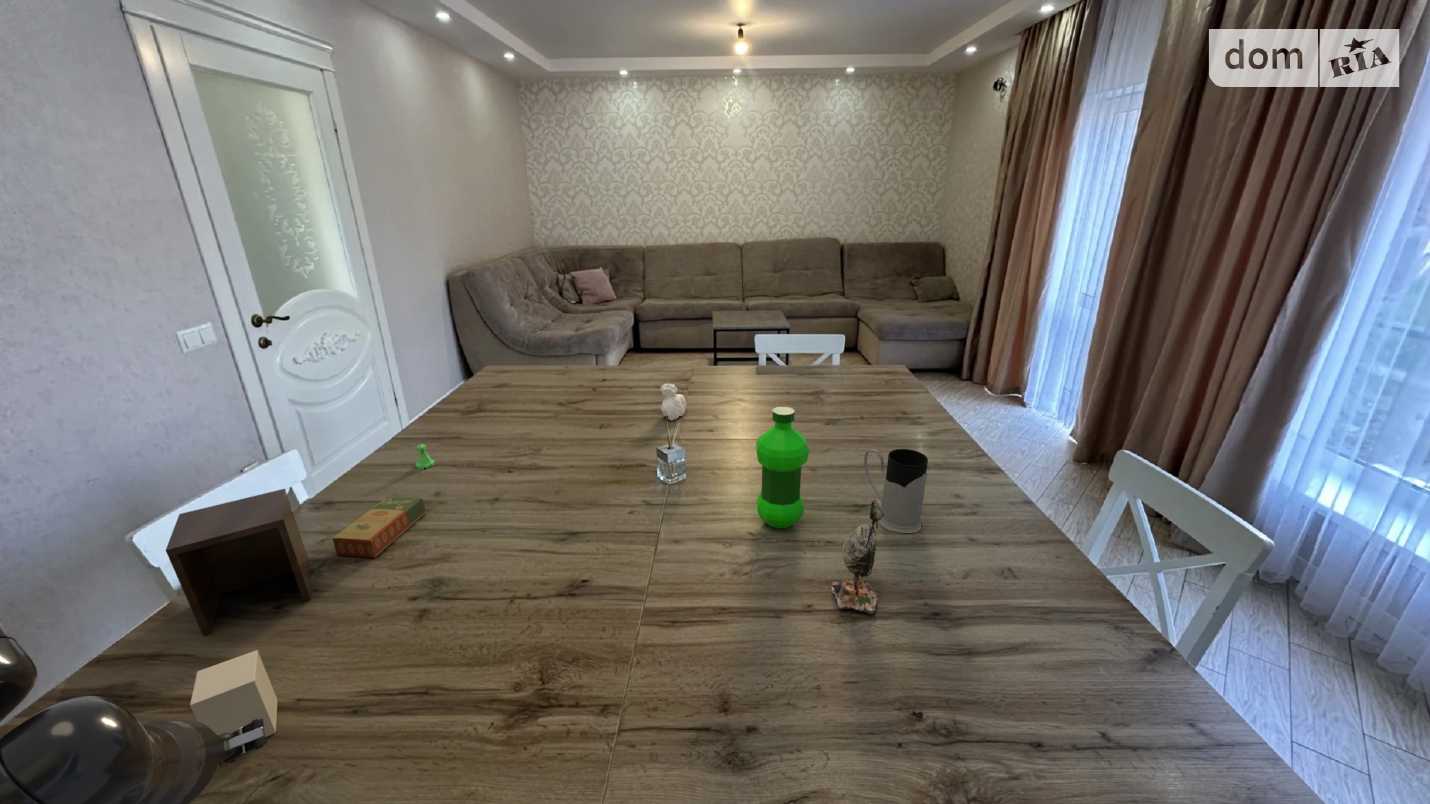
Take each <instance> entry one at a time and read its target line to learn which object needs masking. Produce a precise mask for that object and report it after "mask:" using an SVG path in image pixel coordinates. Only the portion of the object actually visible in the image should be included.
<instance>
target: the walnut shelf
mask: <svg viewBox="0 0 1430 804" xmlns="http://www.w3.org/2000/svg"><path fill="white" fill-rule="evenodd" d="M295 517H296V516H295V514H294V511H293V508H292V505H291V502H290V500H289V497H288V493H287V490H286V488H282V489H277V490H274V491H269V492H264V493H261V494H257V495H251V496H248V497H245V498H240V499H235V500H231V501H227V502H224V503H223V502H222V503H219V504H216V505H211V506H207V507H203V508H199V509H193V510H191V511H187V512H182V513H179V514H178V517H177V519H176V522H175V525H174V526H173V529H172V531H171V534H170V537H169V541H168V543H167V545H166V548H165V553H166V555H167V558H168V559H169V562H170V564H171V566H172V568H173V571H174V573H175V575H176V578H177V579H178V582H179V584H180V587H181V589H182V591H183V593H184V595H185V598H186V600H187V602H188V605H189V608H190V609H191V612H192V614H193V616H194V618H195V621H196V623H197V625H198V628H199V630H200V632H201V634H202V636H203V637H205V636H208V635H210V634H212V633H213V627H214V623H215V618H216V613H217V608H218V602H219V598H220V595H222V594H223V595H224V594H226V593H229V592H232V591H236V590H239V589H242V588H245V587H248V586H252V585H255V584H259V583H262V582H265V581H268V580H271V579H274V578H275V579H276V578H278V577H282V576H284V575H287V574H291V573H293V575H294V578H295V581H296V583H297V584H296V585H297V587H298V590H299V593H300V596H301V599H302V601H303V603H306V602H310V601H311V600H312V592H311V591H312V590H311V589H312V588H311V563H310V560H309V556H308V554H307V551H306V547H305V545H304V541H303V538H302V535H301V533H300V529H299V527H298V524H297V520H296V518H295Z"/></svg>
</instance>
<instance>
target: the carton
mask: <svg viewBox="0 0 1430 804" xmlns="http://www.w3.org/2000/svg"><path fill="white" fill-rule="evenodd" d="M426 514H427V509H426V505H425V502H424V499H423V497H421V496H420V497H419V496H418V497H417V496H415V497H414V496H395V495H388V496H386V497H385V498H383V499H382V500H381V501H380V502H378V503H377V504H376V505H374V506H373V507H372V508H370V509H368V511H366V512H365V513H364V514H362V515H360V517H358V518H357V519H356V520H354V521H353V522H352V523H350V524H349V525H348V526H347V527H345V528H344V529H342V530H341V531H340V532H339V533H337V534H336V535H335V536H333V537H332V542H333V547H334V550H335V554H336V555H337V556H345V557H346V556H347V557H359V558H360V557H361V558H373V559H374V558H376V557H378V556H379V555H380V554H381V553H382V552H383V551H384V550H386V549H387V548H388V547H389V546H390V545H391V544H392V543H394V542H395V540H397V539H398V538H399V537H400V536H401V535H402V534H404V533H405V532H406V531H407V530H409V529H410V528H411V527H412V526H413V525H414V524H416V523H417V522H418V521H419V520H421V518H423V517H424V516H425V515H426Z"/></svg>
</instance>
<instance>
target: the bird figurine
mask: <svg viewBox="0 0 1430 804" xmlns="http://www.w3.org/2000/svg"><path fill="white" fill-rule="evenodd" d="M883 516H884V509H883V506H882V502H881V500H879V499H877V498H874V499H872V500H871V506H870V511H869V520H871V524H870V523H866V524H864V523H863V524H861V525H859V526H858V527H857V528H856V529H854V530H853V531H852V532H851V533H850V534H849V535H848V536H847V538H846V539H845V541H844V543H843V544H842V558H843V562H844V566H845V568H846V569H847V571H848V572H849V573H851V574H854V575H853V580H850V579H842V578H835V579H832V586H831V592H832V593H833V595H834V599H836V602H837V607H838V608H840V609H841V610H846V609H850V610H851V608H852V609H853V610H855V611H859V612H865V613H866V614H869V615H872V614H874V613H875V612H876V606H877V602H878V600H879V598H878V597H879V594H878V592H877V590H875V589H874V588H873V587H872V585H871V582H869V581H868V580H867V578H868V577H869V576H870V575H871V574H872V570H873V567H874V564H875V556H876V550H877V549H876V548H877V545H876V541H877V532H876V529H879V522H878V521H879V520H880V519H881V518H882V517H883ZM874 525H875V526H874ZM875 527H876V529H875ZM844 580H845V581H844ZM853 581H854V582H853Z"/></svg>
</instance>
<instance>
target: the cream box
mask: <svg viewBox="0 0 1430 804" xmlns="http://www.w3.org/2000/svg"><path fill="white" fill-rule="evenodd" d="M189 706H190V709H191V710H192V713H193V714H194V717H195V719H196V721H197V722H200V723H203V724H205V725H206V726H208V727H209V728H210V729H212V730H213V731H214V732H215V733H216V734H217V735H220V734H224V733H233V732H235V731H236V730H237V729H239V728H241V727H244V726H246V725H247V724H249V723H251V722H252V721H253V720H256V719H258V720H259V719H262V718H263V723H264V729H265V735H266V738H267V737H269V736H271V735H274V734H276V733H277V719H278V697H277V695H276V693H275V689H274V688H273V686H272V683H271V680H270V678H269V675H268V672H267V670H266V668H265V666H264V663H263V660H262V657H261V655H260V653H259V650H258V649H256V650H253V651H251V652H248V653H245V654H242V655H239V656H237V657H233V658H231V659H228V660H226V661H223V662H222V661H221V662H220V663H217V664H215V665H212V666H208V667H205V668H203V669H201V670H197V671H196V676H195V680H194V685H193V689H192V694H191V699H190V704H189Z"/></svg>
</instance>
